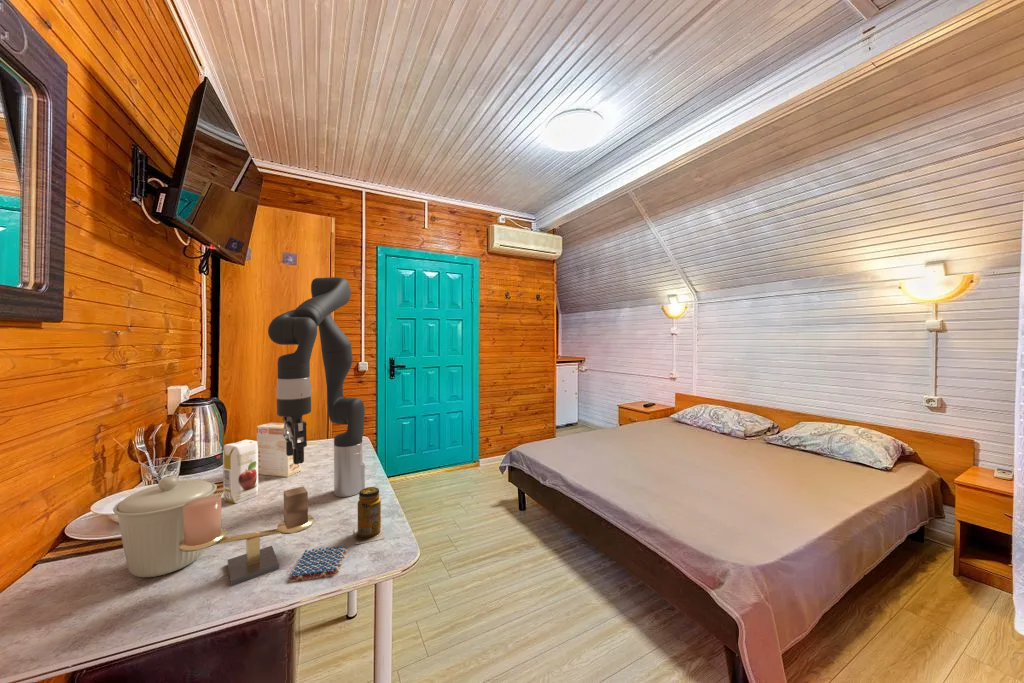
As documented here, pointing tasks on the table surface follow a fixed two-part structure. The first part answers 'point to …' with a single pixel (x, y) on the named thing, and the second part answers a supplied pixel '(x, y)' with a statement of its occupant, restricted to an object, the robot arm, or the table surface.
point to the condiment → (369, 516)
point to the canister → (158, 525)
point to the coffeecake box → (274, 451)
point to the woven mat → (318, 563)
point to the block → (295, 507)
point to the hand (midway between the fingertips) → (294, 459)
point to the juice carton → (240, 471)
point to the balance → (250, 552)
